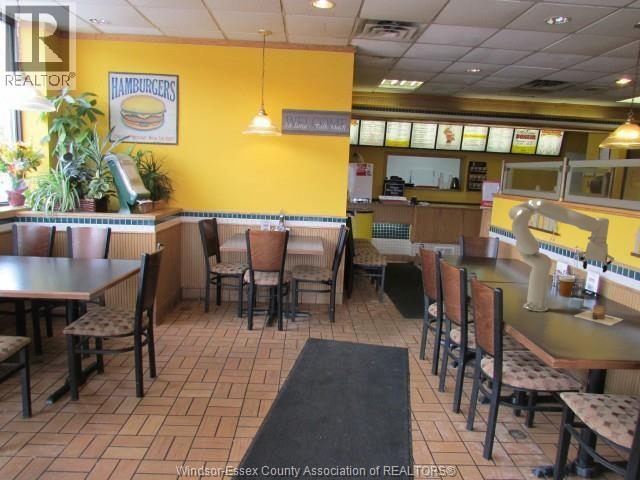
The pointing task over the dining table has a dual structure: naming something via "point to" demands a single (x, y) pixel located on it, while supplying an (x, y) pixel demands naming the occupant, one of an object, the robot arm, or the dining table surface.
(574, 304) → the slate cube
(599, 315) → the wood cylinder
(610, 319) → the letter mat
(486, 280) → the dining table surface
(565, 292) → the disposable coffee cup
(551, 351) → the dining table surface
